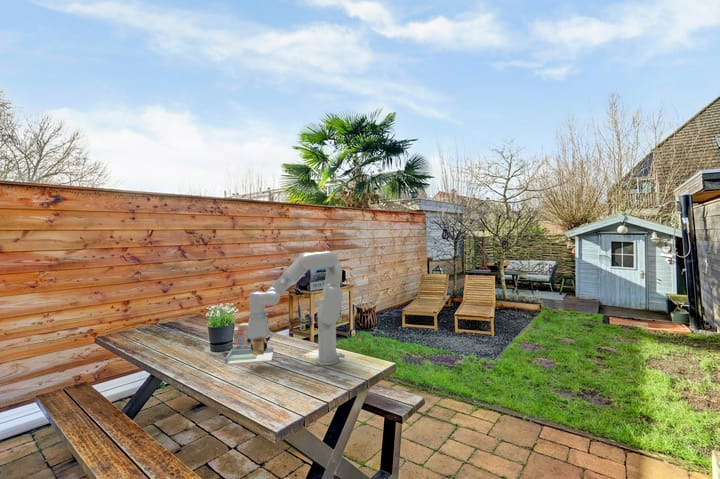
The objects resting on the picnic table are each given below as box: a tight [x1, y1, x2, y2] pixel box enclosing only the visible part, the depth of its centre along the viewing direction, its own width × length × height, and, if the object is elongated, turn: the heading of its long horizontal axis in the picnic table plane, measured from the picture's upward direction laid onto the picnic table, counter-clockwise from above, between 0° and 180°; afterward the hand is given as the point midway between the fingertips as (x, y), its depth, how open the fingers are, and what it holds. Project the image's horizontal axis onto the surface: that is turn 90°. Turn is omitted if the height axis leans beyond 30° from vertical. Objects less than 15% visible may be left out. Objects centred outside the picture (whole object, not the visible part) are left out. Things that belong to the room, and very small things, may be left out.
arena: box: [224, 346, 274, 365], centre depth 190 cm, size 24×14×3 cm, turn 100°
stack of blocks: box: [233, 322, 251, 345], centre depth 219 cm, size 21×6×12 cm, turn 85°
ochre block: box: [253, 338, 264, 355], centre depth 174 cm, size 5×10×6 cm, turn 10°
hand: (259, 350), depth 174 cm, fingers closed on ochre block, 5 cm apart
